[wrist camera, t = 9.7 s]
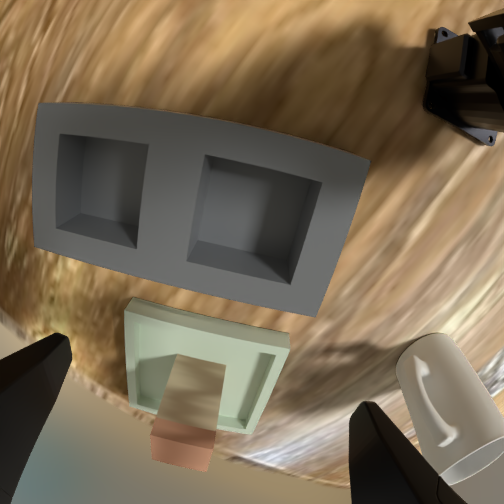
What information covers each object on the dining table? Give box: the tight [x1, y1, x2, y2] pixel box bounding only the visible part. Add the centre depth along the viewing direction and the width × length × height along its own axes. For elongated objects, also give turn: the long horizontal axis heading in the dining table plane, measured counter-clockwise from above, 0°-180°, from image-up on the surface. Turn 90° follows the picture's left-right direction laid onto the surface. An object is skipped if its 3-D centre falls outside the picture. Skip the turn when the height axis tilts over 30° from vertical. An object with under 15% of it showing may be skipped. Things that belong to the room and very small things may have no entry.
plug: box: [150, 354, 226, 472], centre depth 20 cm, size 4×4×8 cm
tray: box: [124, 297, 290, 435], centre depth 24 cm, size 12×12×2 cm
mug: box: [396, 333, 504, 486], centre depth 18 cm, size 10×7×12 cm, turn 52°
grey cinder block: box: [32, 102, 371, 317], centre depth 17 cm, size 18×9×4 cm, turn 77°
